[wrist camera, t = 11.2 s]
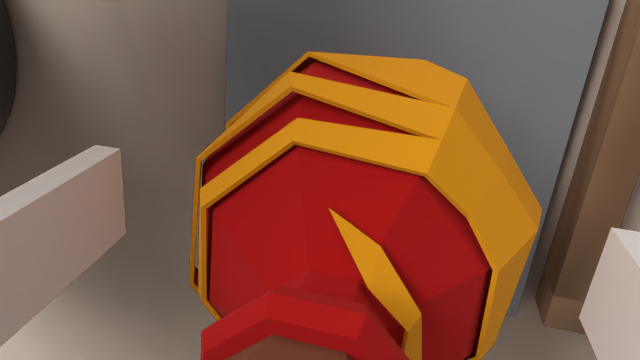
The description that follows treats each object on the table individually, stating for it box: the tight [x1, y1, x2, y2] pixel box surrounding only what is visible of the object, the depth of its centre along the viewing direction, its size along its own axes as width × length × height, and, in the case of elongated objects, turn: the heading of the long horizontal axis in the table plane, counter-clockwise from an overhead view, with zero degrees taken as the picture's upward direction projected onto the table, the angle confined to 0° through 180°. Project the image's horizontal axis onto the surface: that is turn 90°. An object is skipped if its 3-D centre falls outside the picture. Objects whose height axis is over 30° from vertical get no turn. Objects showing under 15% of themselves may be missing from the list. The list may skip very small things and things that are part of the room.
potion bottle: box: [189, 51, 542, 360], centre depth 15 cm, size 10×10×15 cm
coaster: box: [225, 0, 609, 316], centre depth 22 cm, size 14×14×1 cm
